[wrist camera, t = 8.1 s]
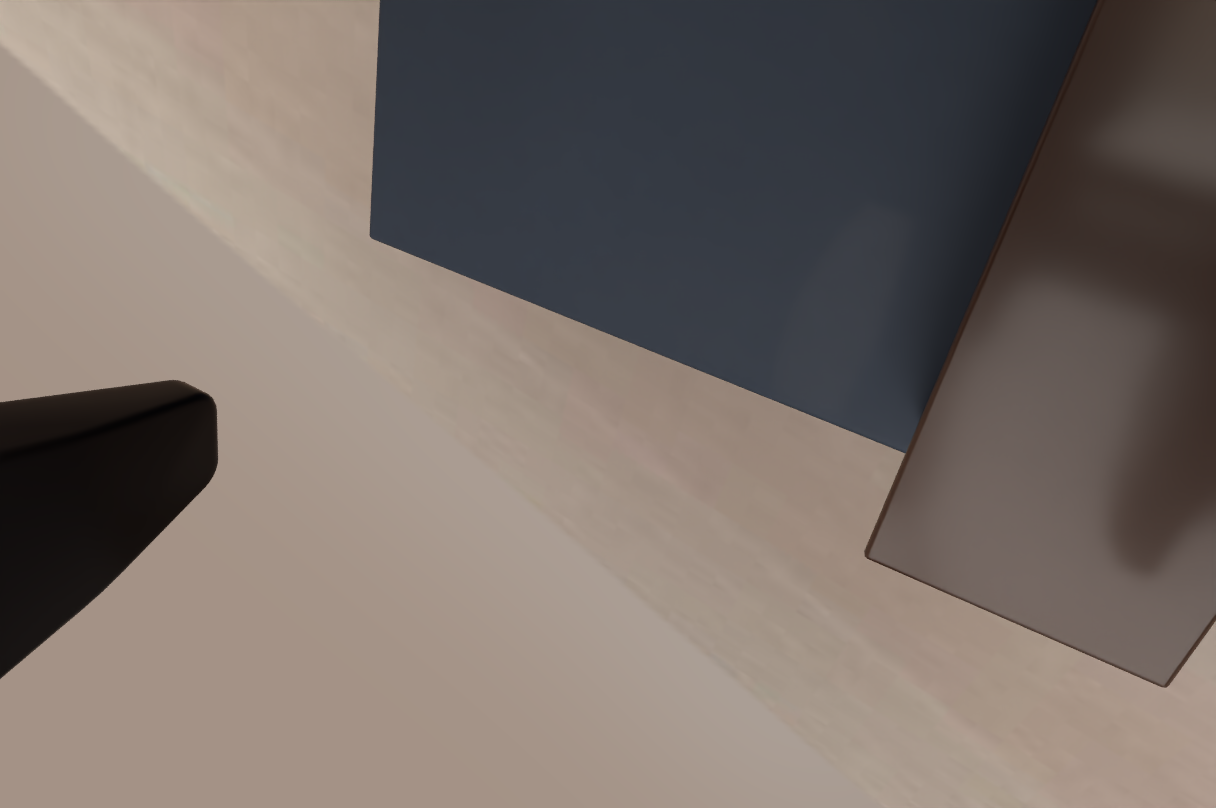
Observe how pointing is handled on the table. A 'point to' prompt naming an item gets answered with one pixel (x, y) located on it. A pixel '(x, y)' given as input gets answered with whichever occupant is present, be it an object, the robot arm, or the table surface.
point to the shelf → (725, 173)
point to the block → (1088, 368)
